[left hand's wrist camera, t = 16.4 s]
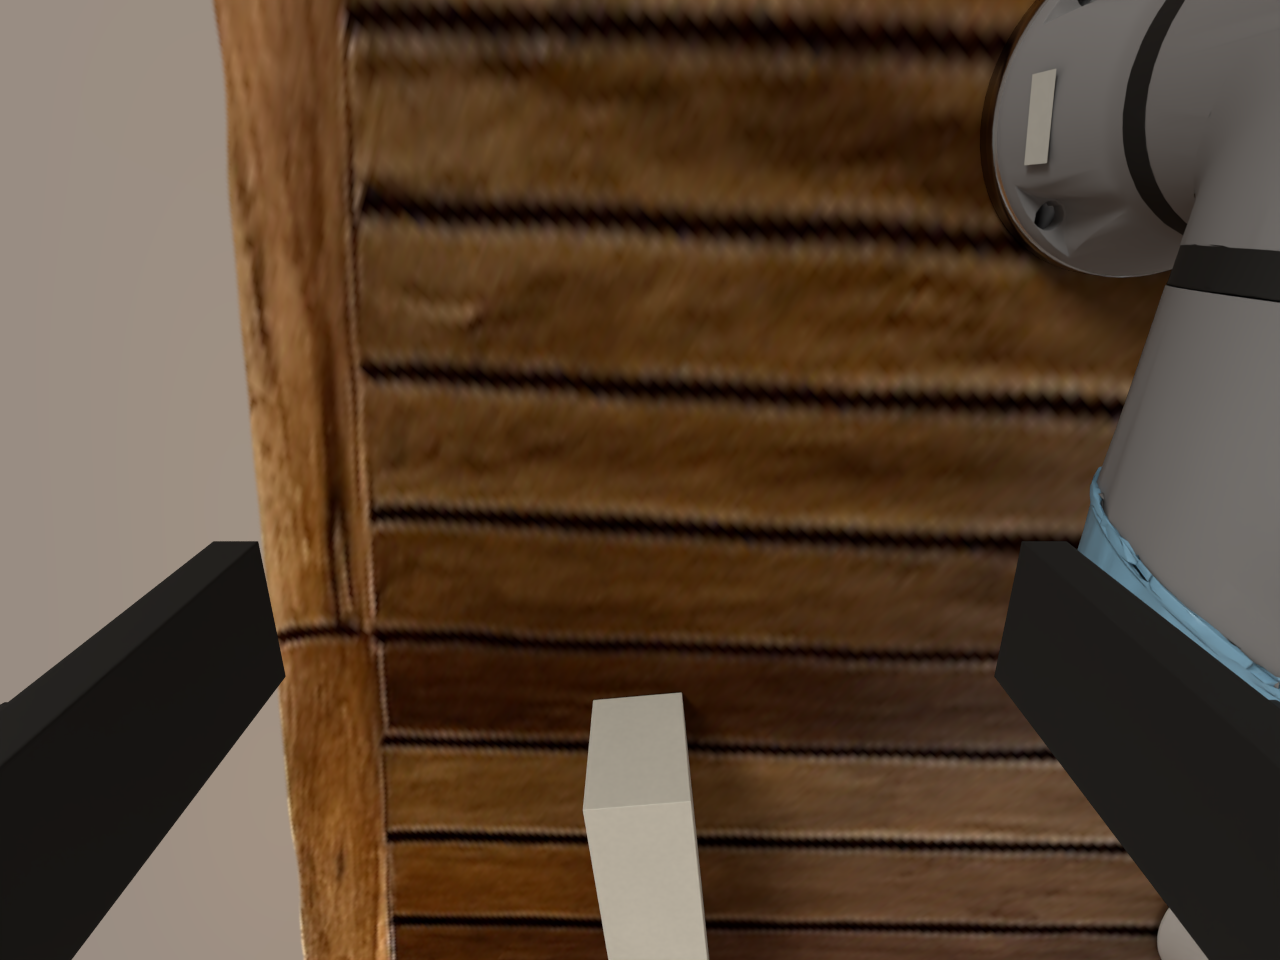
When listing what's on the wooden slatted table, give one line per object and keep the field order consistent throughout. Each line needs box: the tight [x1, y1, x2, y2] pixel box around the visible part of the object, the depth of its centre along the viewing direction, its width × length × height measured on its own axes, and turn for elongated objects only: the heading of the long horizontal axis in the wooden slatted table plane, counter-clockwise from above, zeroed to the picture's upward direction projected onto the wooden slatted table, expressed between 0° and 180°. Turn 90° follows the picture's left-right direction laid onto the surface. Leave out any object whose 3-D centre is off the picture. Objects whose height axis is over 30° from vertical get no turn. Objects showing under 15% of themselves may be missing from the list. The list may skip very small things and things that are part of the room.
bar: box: [583, 693, 709, 960], centre depth 48 cm, size 25×6×9 cm, turn 6°
